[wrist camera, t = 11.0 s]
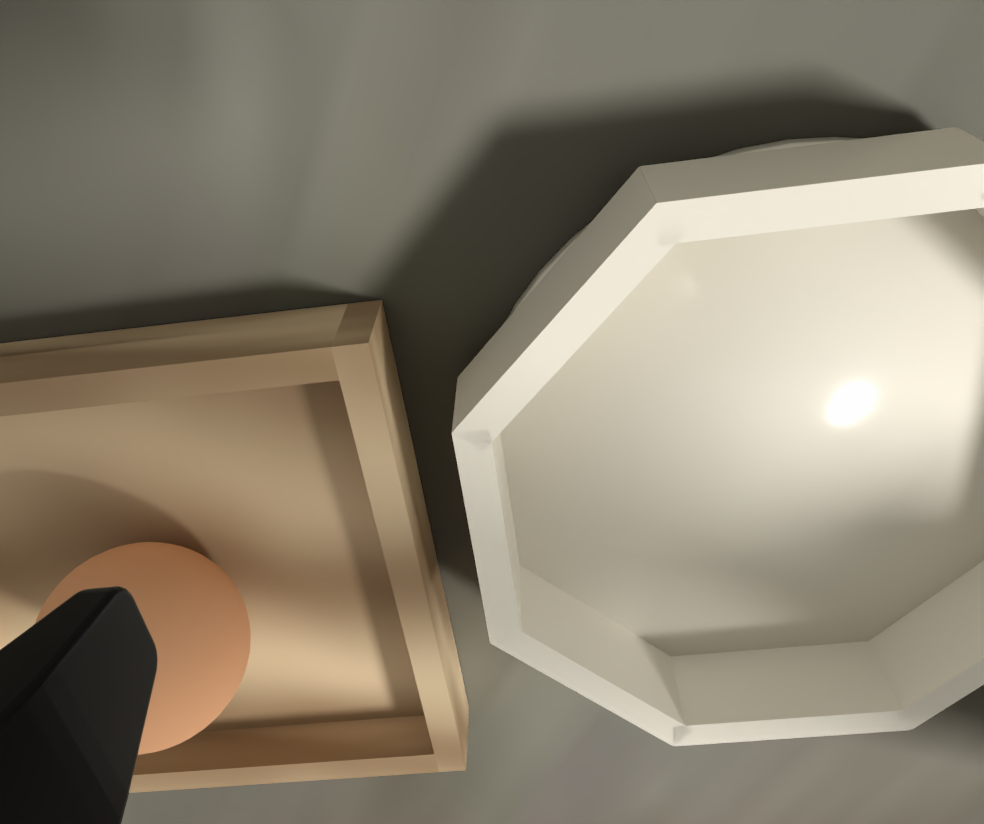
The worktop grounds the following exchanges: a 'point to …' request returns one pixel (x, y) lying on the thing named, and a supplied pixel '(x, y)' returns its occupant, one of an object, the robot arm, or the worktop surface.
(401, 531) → the tray
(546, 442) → the bowl
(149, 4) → the worktop surface
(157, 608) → the ball
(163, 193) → the worktop surface
